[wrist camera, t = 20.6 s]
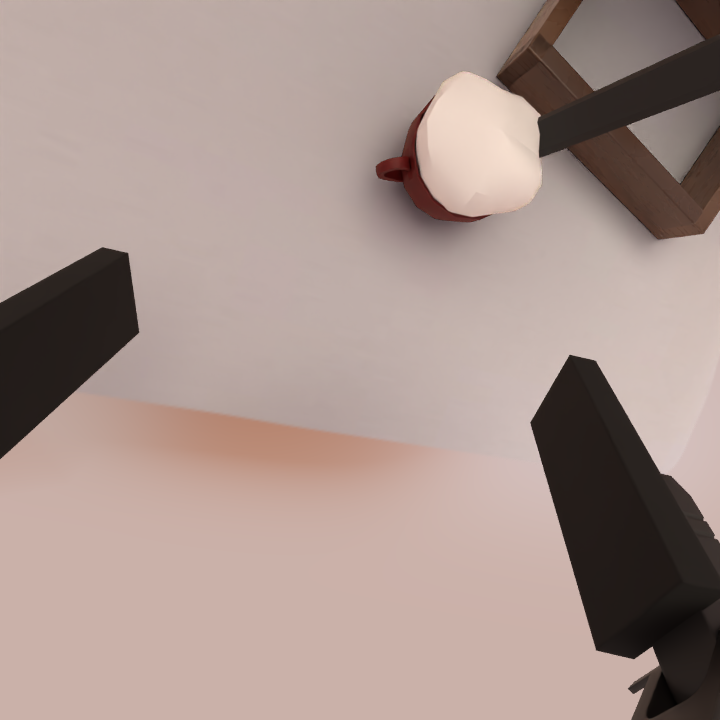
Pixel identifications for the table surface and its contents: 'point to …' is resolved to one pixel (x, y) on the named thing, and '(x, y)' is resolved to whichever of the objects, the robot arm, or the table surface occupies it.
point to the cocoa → (526, 133)
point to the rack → (619, 147)
